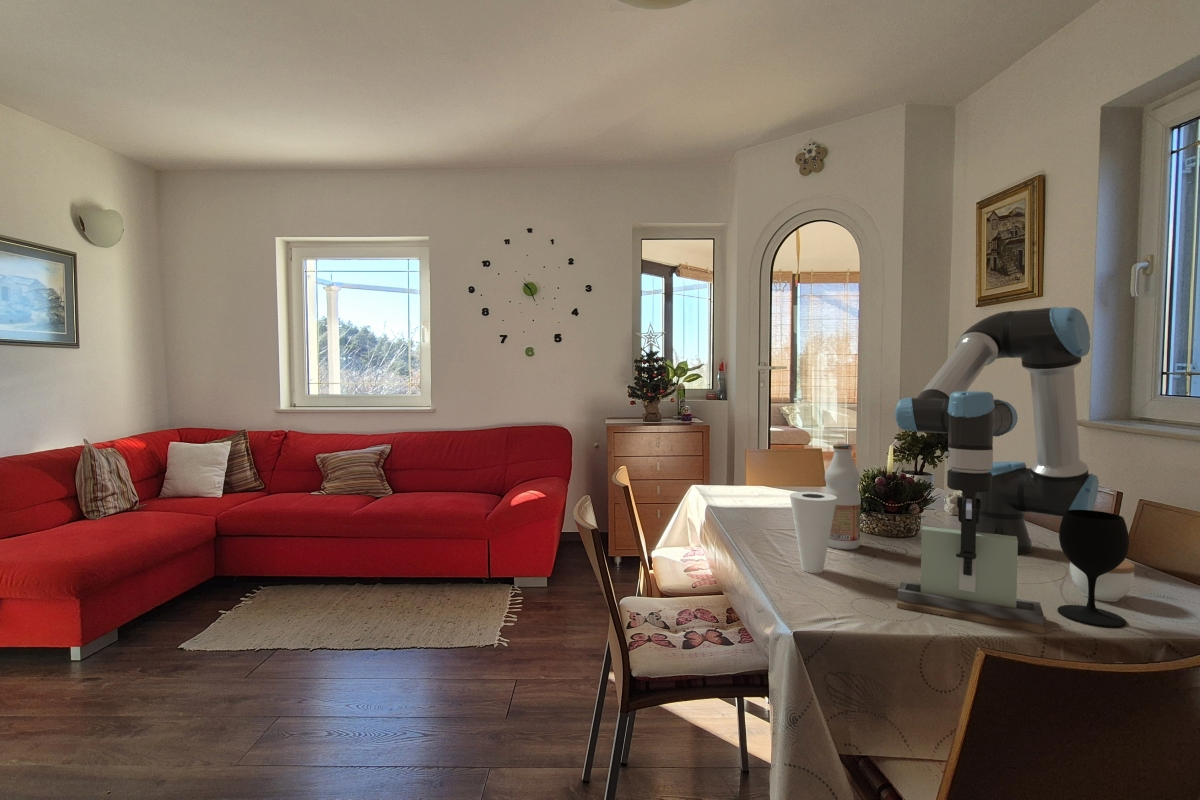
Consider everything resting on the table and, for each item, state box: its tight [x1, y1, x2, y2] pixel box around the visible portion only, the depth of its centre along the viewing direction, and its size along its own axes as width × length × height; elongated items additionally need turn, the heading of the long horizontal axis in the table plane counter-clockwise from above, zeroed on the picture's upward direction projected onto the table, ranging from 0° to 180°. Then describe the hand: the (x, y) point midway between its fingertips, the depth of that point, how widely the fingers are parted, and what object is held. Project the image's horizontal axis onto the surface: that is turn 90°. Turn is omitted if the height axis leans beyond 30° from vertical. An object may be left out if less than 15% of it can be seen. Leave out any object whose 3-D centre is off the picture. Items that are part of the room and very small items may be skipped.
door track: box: [896, 580, 1045, 635], centre depth 119 cm, size 24×10×3 cm, turn 58°
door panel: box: [920, 525, 1019, 608], centre depth 119 cm, size 16×3×14 cm, turn 58°
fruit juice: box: [823, 443, 862, 550], centre depth 166 cm, size 9×9×28 cm
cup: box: [789, 491, 837, 574], centre depth 145 cm, size 11×11×18 cm
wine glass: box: [1057, 510, 1130, 629], centre depth 116 cm, size 10×10×20 cm
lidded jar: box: [1069, 559, 1136, 603], centre depth 127 cm, size 11×11×9 cm
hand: (967, 587), depth 119 cm, fingers closed on door panel, 3 cm apart
